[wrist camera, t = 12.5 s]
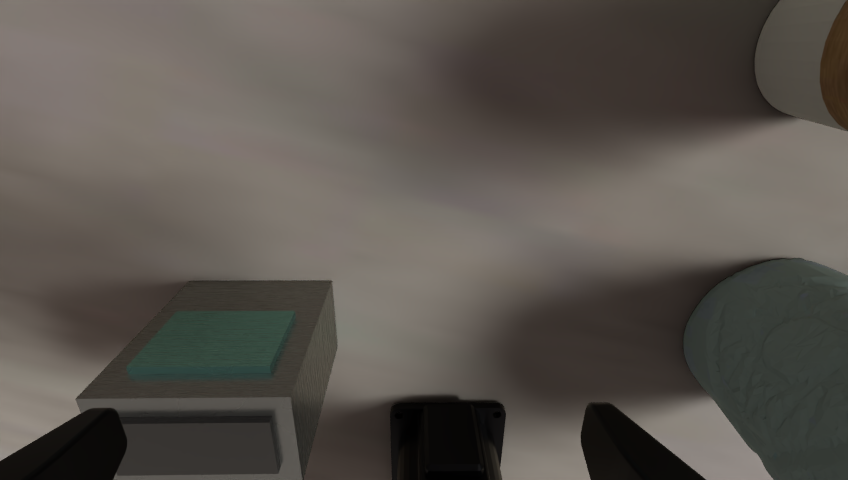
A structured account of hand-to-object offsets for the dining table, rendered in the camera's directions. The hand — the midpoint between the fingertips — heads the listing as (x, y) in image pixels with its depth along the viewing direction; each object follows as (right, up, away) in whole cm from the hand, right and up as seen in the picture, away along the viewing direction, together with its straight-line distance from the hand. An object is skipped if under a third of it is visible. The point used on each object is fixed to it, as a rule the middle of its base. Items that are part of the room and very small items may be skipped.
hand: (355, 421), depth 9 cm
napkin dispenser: (-7, 0, +14) cm, 16 cm away
